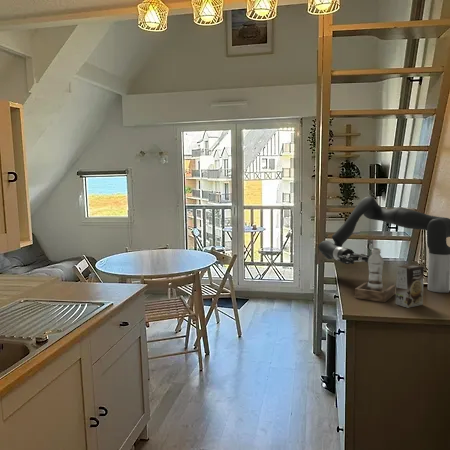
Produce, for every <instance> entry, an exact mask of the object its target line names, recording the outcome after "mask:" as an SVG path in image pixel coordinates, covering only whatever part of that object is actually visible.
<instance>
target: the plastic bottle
mask: <svg viewBox="0 0 450 450" xmlns="http://www.w3.org/2000/svg"><path fill="white" fill-rule="evenodd" d="M381 250H382V249H381V248H379V247H377V248H375V247H374V248H371V254H370V255H369V259H368V262H367V265H368V281H367V282H368V286H367V289H368V290H373V291H380V292H382V291H383V290H384V285H383V278H382V277H383V268H384V267H383V266H384V258H383V257H382V255H381Z"/></svg>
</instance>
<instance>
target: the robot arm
mask: <svg viewBox="0 0 450 450" xmlns="http://www.w3.org/2000/svg"><path fill="white" fill-rule="evenodd" d="M362 216H364V217H365V218H367V219H370V220H374V221H380V222H385V223H388V224H392V225H395V226H397V227H401V228H404V229H405V228H406V229H413V230H422V231H423V230H424V231H426V244H427V248H428V260H427V261H428V262H427V263H428V265H427V266H428V267H427V269H428V270H427V290H428V291H430V292H434V293H447V294H448V293H450V246H449V245H448V243H447V238H450V217H443V216H436V215H435V216H434V215H430V214H426V213H423V212H420V211H416V210H413V209H410V208H405V207H400V206H398V207H393V208H385V207H383V206H381V205H379V203H378V202H377V200H376V199H375V198H374V197H373V196H365V197H363V198H362V199H361V200H360V201H359V202H358V203H357V205H356V207H354V209H353V210H352V212H351V213H350V215H349V216H348V218H347V219H346V220H345V222H344V223H343V224H342V225H341V226H339V228H338V229H337V230H336V231H335V232H334V234H333V235H332V236H331V239H332V240H333V242H331V241H330V240H323V241H321V242H320V243H318V246H317V247H318V250H319V252H320V253H321V254H322V255H323V256H324V257H325V258H326V259H327V260H333V259H334V260H336V261H338V262H339V263H342V264H345V265H349V264H351V265H354V264H355V263H357V262H358V263H361V262H365V263H368V259H369V257H370V255H368V254H365V253H360V254H358V253H355V252H354V251H353V250H352V249H351V248H347V247H345V246H344V247H343V245H344V244H345V243H346V241H347V240H348V239H349V238H350V237H351V236H352V235H353V233H354V231H355V228H356V227H357V224H358V221H359V220H360V219H361V217H362Z"/></svg>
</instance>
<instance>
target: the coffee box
mask: <svg viewBox="0 0 450 450" xmlns="http://www.w3.org/2000/svg"><path fill="white" fill-rule="evenodd" d="M424 272H425V266H423V265H418V264H413V263H411V264H410V263H409V264H404V265H397V266H396V283H395V284H396V285H395V304H396V305H398V306H400V307H404V308H406V309H409V308H413V307H418V306H422V305H423V304H424V302H423V301H424V299H423V298H424V278H425V277H424V276H425V275H424V274H425V273H424Z"/></svg>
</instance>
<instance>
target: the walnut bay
mask: <svg viewBox="0 0 450 450" xmlns="http://www.w3.org/2000/svg"><path fill="white" fill-rule="evenodd" d="M367 286H368V281H365V282H363V283H361V284H360V285H359V286H357V287H355V288H354V298H355V299H360V300H367V301H372V302H373V301H374V302H380V303H386V302H387V301H389V300H390V299H391V298H392V297H393V296H394V295H396V285H394V284H391V285H390V286H389V287H388V288H387V289H385V290H384V289H383V291H382V292H380V291H373V290H368V289H367Z"/></svg>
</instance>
